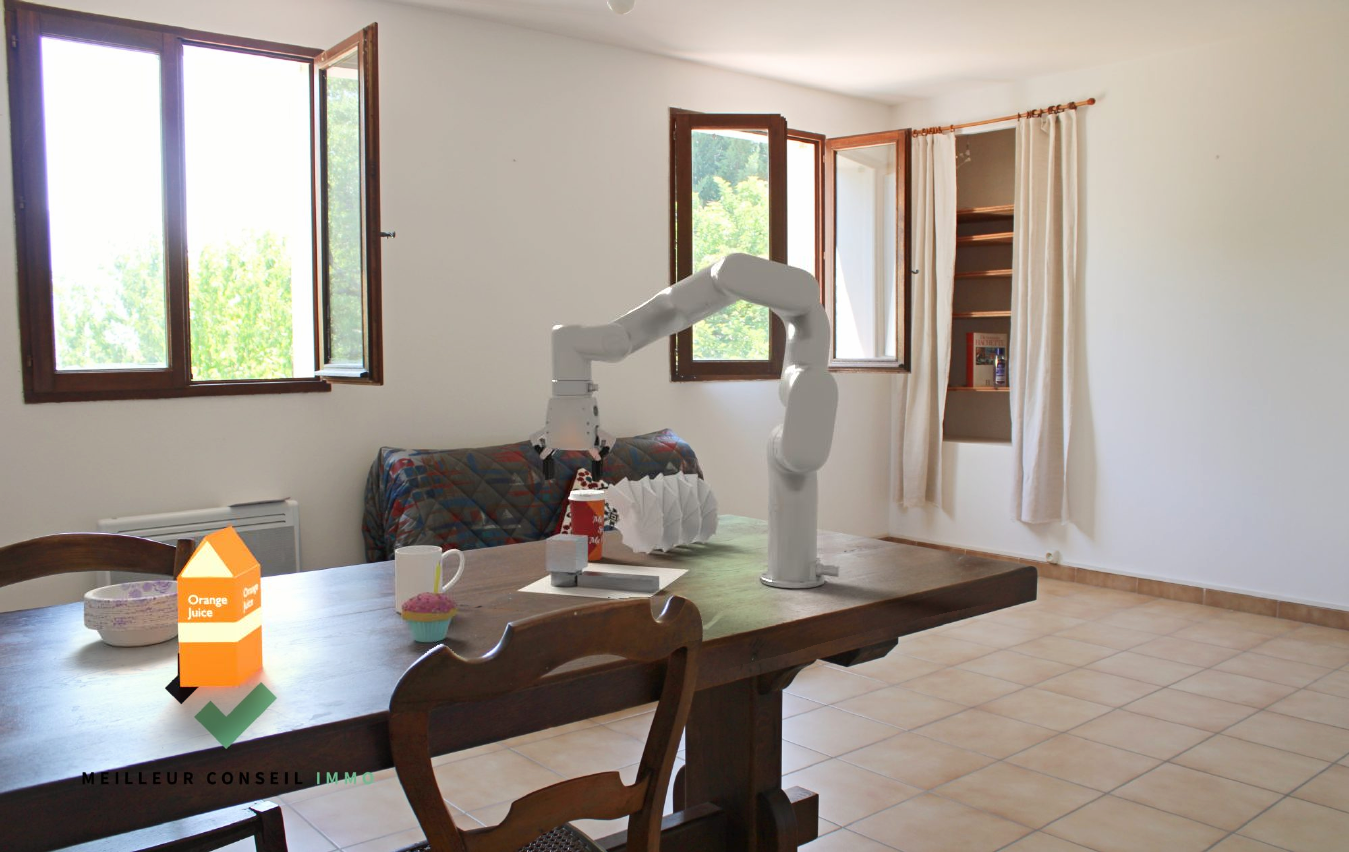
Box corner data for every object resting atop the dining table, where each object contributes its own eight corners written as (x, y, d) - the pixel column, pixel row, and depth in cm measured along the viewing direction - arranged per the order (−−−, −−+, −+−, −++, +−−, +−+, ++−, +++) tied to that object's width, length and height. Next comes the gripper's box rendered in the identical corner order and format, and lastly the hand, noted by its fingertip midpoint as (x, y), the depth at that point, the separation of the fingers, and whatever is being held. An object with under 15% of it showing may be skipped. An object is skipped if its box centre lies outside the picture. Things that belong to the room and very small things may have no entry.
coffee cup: (604, 564, 212) (604, 494, 211) (566, 564, 212) (565, 494, 211) (608, 556, 220) (608, 489, 219) (571, 556, 220) (570, 488, 219)
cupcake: (435, 628, 161) (434, 554, 160) (469, 637, 156) (468, 561, 155) (390, 639, 154) (388, 562, 154) (423, 649, 149) (422, 570, 148)
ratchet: (545, 586, 188) (545, 549, 188) (558, 579, 194) (558, 544, 194) (651, 594, 182) (651, 556, 182) (661, 587, 188) (661, 550, 187)
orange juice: (263, 666, 141) (260, 525, 140) (238, 686, 132) (234, 536, 131) (207, 666, 141) (203, 525, 139) (178, 686, 132) (174, 536, 131)
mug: (404, 617, 168) (403, 555, 167) (389, 607, 174) (388, 548, 173) (473, 607, 174) (472, 548, 174) (455, 598, 181) (455, 541, 180)
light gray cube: (587, 566, 192) (587, 535, 192) (575, 572, 186) (575, 540, 186) (559, 564, 194) (558, 533, 194) (546, 570, 188) (545, 539, 188)
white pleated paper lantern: (713, 561, 236) (639, 572, 217) (664, 521, 246) (590, 529, 228) (742, 495, 230) (669, 500, 211) (691, 457, 240) (617, 459, 222)
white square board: (689, 572, 204) (689, 569, 204) (644, 604, 177) (644, 601, 177) (576, 564, 211) (576, 561, 211) (516, 594, 185) (516, 590, 185)
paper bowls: (180, 621, 165) (179, 573, 164) (209, 640, 154) (208, 589, 153) (74, 637, 155) (73, 587, 154) (97, 659, 144) (95, 605, 143)
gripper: (621, 389, 190) (622, 479, 191) (538, 389, 195) (539, 476, 196) (607, 390, 183) (608, 484, 184) (521, 390, 188) (522, 481, 189)
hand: (572, 480), depth 190 cm, fingers open, 9 cm apart
